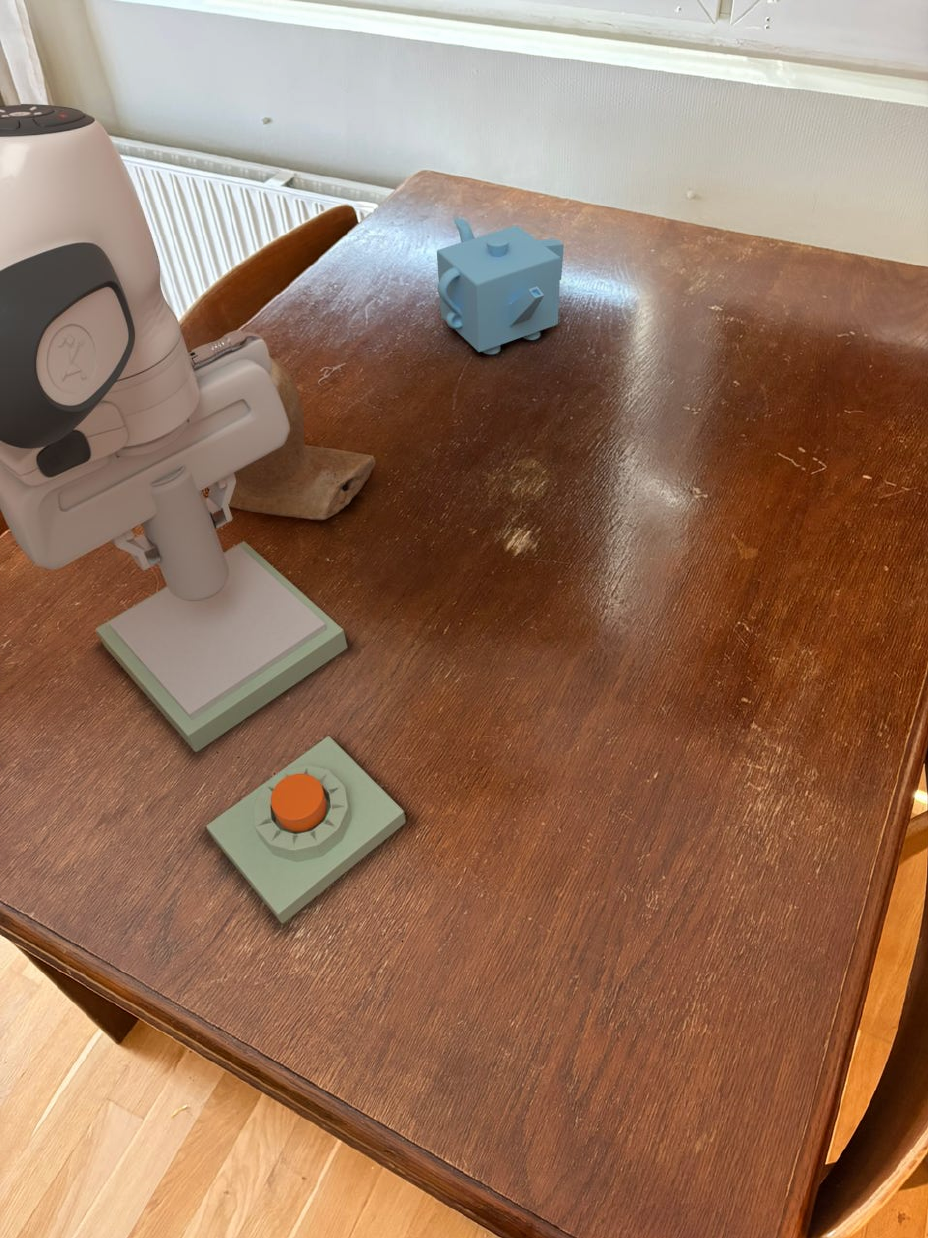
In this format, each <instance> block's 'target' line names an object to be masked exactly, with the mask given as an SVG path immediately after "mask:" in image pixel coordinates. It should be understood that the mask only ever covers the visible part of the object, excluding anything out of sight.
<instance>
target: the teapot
mask: <svg viewBox="0 0 928 1238" xmlns="http://www.w3.org/2000/svg"><path fill="white" fill-rule="evenodd" d="M454 224H455V226H456V228H457V230H458V233H459V238H460V242H458V243H455V244H452V245H448V246H445V247H442V248H439V249H436V262H437V273H438V274H437V277H438V283H437V292H438V296H439V305H440V308H439V309H440V317H441V319H443V320H444V321H445V322H446V324H447V326H448V327H449V328H451V329H453V330H454V331H456V332H457V333H458V334H459V335H460V336H461V337H462V338H463V339H464V340H465V341H466V342H467V343H468V344H469V345H471V346H472V347H473V348H474V349H475V350H476V351H477V352H478V353H481V352H482V353H483V354H485V355H495V354H498V353H499V352H500V351H501V345H504V344H507V343H509V342H512V341H515V340H517V339H521V338H522V339H524V340H528V341H535V340H537V339H539V338H540V337H541V331H543V330H546V329H549V328H552V327H554V326H557V325H559V310H560V309H559V308H560V285H561V284H560V282H561V281H562V275H563V274H562V273H563V262H564V261H563V259H564V246H565V245H564V243H563V242H561V241H560V240H559V239H557V238H556V237H554V238H547V239H545V238H544V239H537V238H536V237H534V236H532V235H531V234H530V233H528V232H527V231H525V230H524V229H523V228H521V226H519V225H518V224H517V225H513V226H509V227H506V228H503V229H500V230H497V231H493V232H490V233H487V234H484V235H480V236H477V237H475V235H474V233H473V230H472V229H471V226H470V224H469V223H468V222H467V221H466V220H465V219H463V218H462V217H456V218H454Z"/></svg>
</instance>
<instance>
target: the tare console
mask: <svg viewBox="0 0 928 1238" xmlns="http://www.w3.org/2000/svg"><path fill="white" fill-rule="evenodd" d="M293 774H308V775H311V776H313V777H314V778H316V779H317V780H318V781H319V782H320V784H321V786H322V788H323V791H324V795H325V798H326V801H327V809H326V813H325V815H324V817H323V819H322V820H321V821H320V822H319V823H318V824H317V825H316V826H314V827H313V828H311V829H309V830H306V831H300V832H296V831H290V830H287V829H285V828H284V827H282V826H281V825H280V823H279V822H278V820H277V818H276V816H275V813H274V811H273V809H272V806H271V795H272V792H273V790H274V788H275V786H276V785H277V784H278V783H279V782H280V781H281V780H282V779H284V778H286V777H288V776H290V775H293ZM406 823H407V820H406V815H405V810H404V809H403V808H402V807H400V805H398V804H397V803H396V801H395V800H394V799H393V798H392V797H391V796H389V794H388V793H387V792H386V791H385V790H384V789H383V788H382V787H381V786H380V785H379V784H378V783H377V782H376V781H375V780H374V779H373V778H372V777H371V776H370V775H368V773H366V771H365V770H364V769H363V768H362V767H361V766H360V765H359V764H358V763H357V762H356V761H355V760H354V759H353V758H352V757H351V756H350V755H349V754H348V753H347V752H346V751H345V750H344V749H343V748H342V747H341V746H340V745H339V744H338V743H337V742H336V741H335V739H333V738H332V737H331V736H330V735H327V736H326V737H325V738H323V739H322V740H320V741H319V742H318V743H316V744H315V745H314V746H313V747H311V748H309V749H308V750H307V751H306V752H304V753H303V754H301V755H300V756H299V757H298V758H296V759H295V760H294V761H292V762H291V763H289V764H288V765H287V766H285V767H284V768H282V769H281V770H280V771H279V772H277V773H276V774H274V775H273V776H272V777H270V778H269V779H267V780H266V781H264V782H263V783H262V784H260V786H258V787H256V788H255V789H254V790H253V791H251V792H250V793H248V794H247V795H246V796H245V797H243V798H241V800H239V801H238V802H236V803H235V804H234V805H232V806H231V807H229V808H227V810H226V811H224V812H223V813H221V814H219V815H218V816H217V817H216V818H214V819H213V820H212V821H210V822H209V823H207V825H206V830H207V831H208V833H209V835H210V837H211V839H213V840H214V842H215V843H216V844H217V846H218V847H219V848H220V849H221V851H222V852H223V853H224V854H225V856H226V857H227V859H229V860H230V862H231V863H232V864H233V866H235V868H236V870H237V871H238V872H239V873H240V874H241V876H242V877H243V878H244V879H245V881H246V882H247V883H248V884H249V885H250V886H251V888H253V890H254V891H255V893H256V894H257V895H258V897H260V899H261V900H262V901H263V902H264V904H265V905H266V906H267V907H268V908H269V910H270V911H271V912H272V913H273V916H275V917H276V918H277V920H278V921H279V922H280V923H281V924H282V925H283V924H284V923H287V921H289V919H291V918H292V917H293V916H295V915H296V914H297V913H298V912H299V911H300V910H302V909H303V908H304V907H305V906H307V905H308V904H309V903H310V902H312V901H313V900H314V899H316V898H317V897H318V896H319V895H320V894H321V893H322V892H323V891H325V890H326V889H327V888H328V887H329V886H331V885H332V884H333V883H334V882H336V881H337V880H338V879H340V877H342V876H343V875H344V874H346V872H348V871H349V870H351V868H353V867H354V866H355V865H356V864H357V863H359V862H360V861H361V860H363V859H364V858H365V857H366V856H367V855H368V854H370V853H371V852H372V851H373V850H375V849H376V848H377V847H378V846H379V845H381V844H382V843H383V842H384V841H385V840H387V839H388V838H389V837H390V836H391V835H393V834H394V833H396V831H398V829H400V828H401V827H402V826H404V825H405V824H406Z"/></svg>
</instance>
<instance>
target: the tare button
mask: <svg viewBox="0 0 928 1238" xmlns="http://www.w3.org/2000/svg"><path fill="white" fill-rule="evenodd" d="M271 806H272V809H273V811H274V813H275V816H276V818H277V820H278V822H279V823H280V825H281V826H282V827H284V828H285V829H287V830H290V831H296V832H300V831H306V830H309V829H311V828H313V827H314V826H316V825H317V824H318V823H319V822H320V821H321V820H322V819H323V817H324V815H325V813H326V809H327V801H326V798H325V795H324V791H323V788H322V786H321V784H320V782H319V781H318V780H317V779H316V778H314V777H313V776H311V775H308V774H293V775H290V776H288V777H286V778H284V779H282V780H281V781H280V782H279V783H278V784H277V785H276V786H275V788H274V790H273V792H272V795H271Z"/></svg>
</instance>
